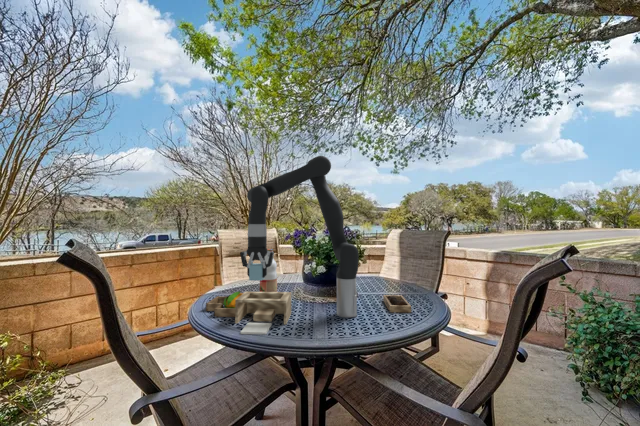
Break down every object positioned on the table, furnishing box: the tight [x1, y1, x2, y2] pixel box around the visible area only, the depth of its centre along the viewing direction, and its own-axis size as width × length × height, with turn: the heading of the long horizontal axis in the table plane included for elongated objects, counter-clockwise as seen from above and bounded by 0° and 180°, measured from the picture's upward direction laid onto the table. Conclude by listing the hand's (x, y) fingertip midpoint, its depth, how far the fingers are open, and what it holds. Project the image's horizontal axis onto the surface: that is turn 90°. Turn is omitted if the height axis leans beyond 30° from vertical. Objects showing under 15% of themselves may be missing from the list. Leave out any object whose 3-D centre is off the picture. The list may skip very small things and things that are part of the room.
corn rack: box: [205, 295, 235, 318], centre depth 145 cm, size 28×28×4 cm
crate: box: [234, 291, 292, 325], centre depth 129 cm, size 22×14×10 cm, turn 87°
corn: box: [223, 291, 244, 308], centre depth 146 cm, size 7×8×20 cm
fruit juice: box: [259, 248, 278, 292], centre depth 158 cm, size 9×9×28 cm
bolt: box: [387, 296, 408, 306], centre depth 146 cm, size 6×5×15 cm
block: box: [248, 262, 265, 282], centre depth 117 cm, size 5×5×6 cm
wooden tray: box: [383, 294, 412, 313], centre depth 147 cm, size 10×19×3 cm, turn 177°
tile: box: [240, 322, 273, 336], centre depth 116 cm, size 10×10×1 cm
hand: (257, 276), depth 116 cm, fingers closed on block, 5 cm apart
